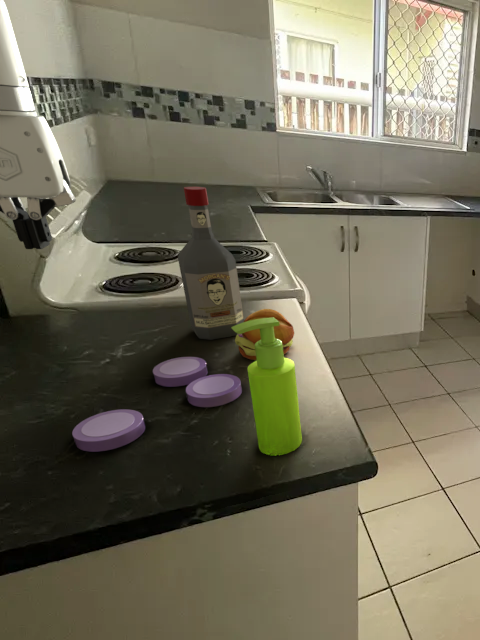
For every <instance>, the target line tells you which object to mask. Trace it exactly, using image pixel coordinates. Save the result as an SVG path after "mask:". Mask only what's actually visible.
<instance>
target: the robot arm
mask: <svg viewBox="0 0 480 640" xmlns="http://www.w3.org/2000/svg"><path fill="white" fill-rule="evenodd" d="M71 188H72V183H71V179H70V175H69V172H68V169H67V165H66V163H65V160H64V158H63V155H62V152H61V150H60V146H59V145H58V142H57V140H56V138H55V136H54V134H53V131H52V130H51V128H50V126H49V123H48V122H47V119H46V118H45V116H44V115H38V113H37V109H36V105H35V102H34V99H33V96H32V92H31V88H30V84H29V82H28V77H27V74H26V71H25V66H24V63H23V60H22V56H21V53H20V49H19V46H18V43H17V39H16V35H15V31H14V29H13V25H12V21H11V18H10V14H9V11H8V8H7V5H6V2H5V0H0V213H2V214H4V215H5V217H6V218H7V219H8V220H11V221H12V223H13V226H14V229H15V233H16V235H17V238H18V240H19V242H22V243H23V246H24V248H25V250H33V249H36V250H43V249H45V248H46V247H48V246H50V244H51V241H52V240H53V237H52V236H53V235H52V233H51V230H50V226H49V223H48V219H47V216H49V215H50V214H51V212H52V211H53V210H54V209H55V208H59V207H64V206H69V205H73V204H74V203H76V201H77V199H76V196H75V195H74V194H73V192H72V190H71ZM21 198H26V204H27V209H28V211H27V209H26V207H25V205H24V203H23V201H22V199H21Z"/></svg>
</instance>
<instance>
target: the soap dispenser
mask: <svg viewBox="0 0 480 640" xmlns="http://www.w3.org/2000/svg"><path fill="white" fill-rule="evenodd" d="M274 326H280V325H279V321H278V320H276V319H275V318H274V317H271V318H261V319H255V320H250V321H246V322H243V323H240V324H238V325H235V326H233V327H231V328H232V329H233V330H234V331H235V332H236V333H237V334H242V333H245V332H248V331H251V330H255V329H260V336H261V340H259V341H257V342H256V343H255V352H256V359H257V360H254V361H253V362H251V363H250V364H249V365H248V366H247V369H246V370H247V376H248V384H249V390H250V397H251V403H252V410H253V416H254V424H255V430H256V431H255V432H256V438H257V445H258V449H259V451H260V452H261V453H262V454H264V455H267V456H282V455H287V454H289V453H292V452H293V451H295V450H297V449H298V448H299V447H300V446H301V444H302V443H303V435H302V434H303V433H302V427H301V416H300V408H299V407H300V406H299V405H300V404H299V395H298V386H297V376H296V375H297V374H296V365H295V362H294V361H293V360H292V359H291V358H288V357H285V354H283V345H282V341H281V340H279V339H276V338H275V335H274Z"/></svg>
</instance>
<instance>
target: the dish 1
mask: <svg viewBox="0 0 480 640" xmlns="http://www.w3.org/2000/svg"><path fill="white" fill-rule="evenodd" d="M145 431H146V422H145V419H144V415H143V414H142V413H141V412H140V411H138V410H136V409H135V410H134V409H125V408H122V409H121V408H120V409H113V410H108V411H103V412H99V413H97V414H94V415H92V416H89V417H87V418H85V419H84V420H82V421H80V422H79V423H78V424H76V426H74V427H73V429H72V432H71V434H72V438H73V441H74V444H75V446H76V448H78V449H79V450H81V451H82V452H83V451H84V452H89V453H90V452H91V453H97V452H106V451H110V450H115V449H118V448H122V447H124V446H126V445H128V444H130V443H133V442H134V441H136V440H137V439H139V438H140V437H141V436H142V435H143V434H144V433H145Z"/></svg>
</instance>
